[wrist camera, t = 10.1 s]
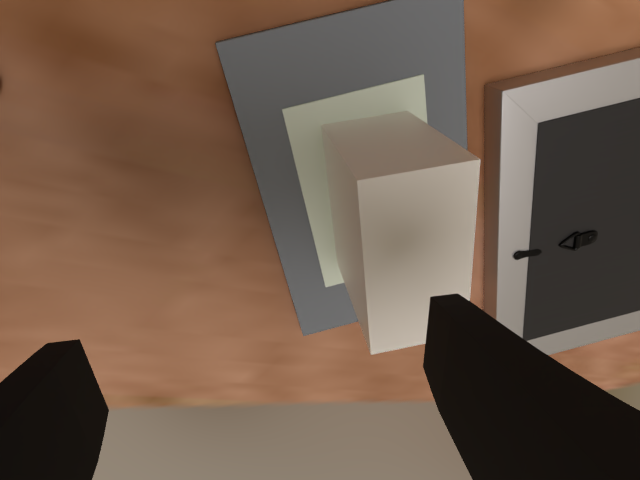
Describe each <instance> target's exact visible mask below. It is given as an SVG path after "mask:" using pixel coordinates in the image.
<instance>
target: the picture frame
mask: <svg viewBox="0 0 640 480" xmlns="http://www.w3.org/2000/svg"><path fill="white" fill-rule="evenodd" d="M484 312H486V313H487V314H489V315H490V316H491V317H493V318H494V319H496V320H497V321H498V322H500V323H501V324H503V325H504V326H506V327H507V328H508V329H510V330H511V331H513V332H514V333H516V334H517V335H518V336H520V337H521V338H523V339H524V340H526V341H527V342H529V343H530V344H532V345H533V346H535V347H536V348H538V349H539V350H540V351H542V352H544V353H545V354H547V355H550V354H554V353H558V352H561V351H565V350H569V349H573V348H576V347H580V346H584V345H587V344H591V343H595V342H599V341H602V340H606V339H610V338H613V337H617V336H621V335H625V334H628V333H632V332H636V331H640V47H638V48H634V49H630V50H626V51H621V52H617V53H613V54H609V55H605V56H601V57H597V58H592V59H588V60H584V61H580V62H576V63H572V64H568V65H563V66H559V67H555V68H551V69H547V70H543V71H539V72H534V73H530V74H526V75H522V76H518V77H514V78H510V79H505V80H501V81H497V82H493V83H489V84H485V96H484Z"/></svg>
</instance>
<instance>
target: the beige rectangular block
mask: <svg viewBox="0 0 640 480" xmlns="http://www.w3.org/2000/svg"><path fill="white" fill-rule="evenodd" d="M321 128H322V136H323V145H324V154H325V162H326V171H327V179H328V188H329V197H330V205H331V214H332V222H333V231H334V240H335V248H336V257H337V264H338V266H339V269H340V272H341V275H342V277H343V280H344V283H345V286H346V288H347V291H348V294H349V297H350V299H351V302H352V305H353V307H354V310H355V313H356V316H357V318H358V321H359V324H360V327H361V329H362V332H363V335H364V338H365V340H366V343H367V346H368V349H369V351H370V354H371V355H372V354H377V353H382V352H387V351H392V350H396V349H401V348H406V347H411V346H416V345H420V344H425V343H426V334H427V325H428V315H429V305H430V297H432V296H440V295H449V294H457V293H458V294H459V295H461V296H462V297H464V298H465V299H467V300H468V301H470V292H471V279H472V265H473V252H474V239H475V226H476V213H477V199H478V186H479V173H480V160H481V159H479V158H478V157H476V156H475V155H473V154H472V153H470V152H469V151H467V150H466V149H464V148H463V147H461V146H460V145H458V144H457V143H455V142H454V141H452V140H451V139H449V138H448V137H446V136H445V135H443V134H442V133H440V132H439V131H437V130H436V129H434V128H433V127H431V126H430V125H428V124H427V123H425V122H424V121H422V120H421V119H419V118H418V117H416V116H415V115H413V114H412V113H410V112H409V111H403V112H397V113H391V114H384V115H378V116H372V117H366V118H360V119H353V120H347V121H341V122H335V123H329V124H323V125H321Z"/></svg>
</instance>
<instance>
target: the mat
mask: <svg viewBox="0 0 640 480" xmlns="http://www.w3.org/2000/svg"><path fill="white" fill-rule="evenodd" d="M215 44H216V47H217V51H218V54H219V57H220V61H221V64H222V67H223V71H224V74H225V77H226V81H227V84H228V87H229V91H230V94H231V97H232V101H233V104H234V107H235V111H236V114H237V117H238V121H239V124H240V127H241V130H242V134H243V137H244V140H245V144H246V147H247V150H248V154H249V157H250V160H251V164H252V167H253V170H254V174H255V177H256V180H257V184H258V187H259V190H260V194H261V197H262V200H263V204H264V207H265V210H266V214H267V217H268V220H269V223H270V227H271V230H272V233H273V237H274V240H275V243H276V247H277V250H278V253H279V257H280V260H281V263H282V267H283V270H284V273H285V277H286V280H287V283H288V287H289V290H290V293H291V297H292V300H293V303H294V307H295V310H296V313H297V317H298V320H299V323H300V326H301V330H302V333H303V336H305V335H309V334H313V333H316V332H320V331H324V330H328V329H331V328H335V327H339V326H343V325H346V324H350V323H354V322H357V321H358V318H357V316H356V313H355V310H354V307H353V305H352V302H351V299H350V297H349V294H348V291H347V288H346V286H345V283H344V280H343V277H342V275H341V272H340V269H339V266H338V264H337V257H336V248H335V240H334V231H333V222H332V214H331V205H330V197H329V188H328V179H327V171H326V162H325V154H324V145H323V136H322V128H321V125H323V124H329V123H335V122H341V121H347V120H353V119H360V118H366V117H372V116H378V115H384V114H391V113H397V112H403V111H409V112H410V113H412V114H413V115H415V116H416V117H418V118H419V119H421V120H422V121H424V122H425V123H427V124H428V125H430V126H431V127H433V128H434V129H436V130H437V131H439V132H440V133H442V134H443V135H445V136H446V137H448V138H449V139H451V140H452V141H454V142H455V143H457V144H458V145H460V146H461V147H463V148H464V149H466V150H467V119H466V79H465V39H464V0H389V1H385V2H380V3H376V4H372V5H368V6H364V7H360V8H355V9H351V10H347V11H343V12H339V13H334V14H330V15H326V16H322V17H318V18H314V19H309V20H305V21H301V22H297V23H293V24H289V25H284V26H280V27H276V28H272V29H268V30H264V31H259V32H255V33H251V34H247V35H243V36H239V37H234V38H230V39H226V40H222V41H218V42H216V43H215Z"/></svg>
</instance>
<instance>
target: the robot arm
mask: <svg viewBox="0 0 640 480" xmlns="http://www.w3.org/2000/svg"><path fill="white" fill-rule="evenodd" d="M423 368H424V371H425V374H426V376H427V379H428V382H429V385H430V388H431V391H432V394H433V397H434V399H435V402H436V405H437V407H438V410H439V412H440V414H441V416H442V418H443V420H444V423H445V425H446V427H447V429H448V431H449V433H450V435H451V437H452V439H453V441H454V443H455V445H456V447H457V449H458V451H459V453H460V455H461V457H462V459H463V461H464V463H465V465H466V467H467V469H468V471H469V473H470V475H471V477H472V479H473V480H640V411H639V410H637V409H635V408H634V407H632V406H630V405H628V404H626V403H625V402H623V401H621V400H619V399H618V398H616V397H614V396H612V395H611V394H609V393H607V392H606V391H604V390H602V389H601V388H599V387H597V386H596V385H594V384H593V383H591V382H589V381H588V380H586V379H584V378H583V377H581V376H579V375H578V374H576V373H574V372H573V371H571V370H570V369H568V368H567V367H565V366H563V365H562V364H560V363H559V362H557V361H556V360H554V359H553V358H551V357H550V356H548V355H547V354H545V353H544V352H542V351H540V350H539V349H538V348H536V347H535V346H533V345H532V344H530V343H529V342H527V341H526V340H524V339H523V338H521V337H520V336H518V335H517V334H516V333H514V332H513V331H511V330H510V329H508V328H507V327H506V326H504V325H503V324H501V323H500V322H498V321H497V320H496V319H494V318H493V317H491V316H490V315H489V314H487V313H486V312H484V311H483V310H481V309H480V308H479V307H477V306H476V305H474V304H473V303H471V302H470V301H468V300H467V299H465V298H464V297H462V296H461V295H459V294H458V293H457V294H449V295H440V296H432V297H430V305H429V315H428V325H427V334H426V344H425V354H424V363H423ZM108 412H109V410H108V407H107V405H106V402H105V400H104V397H103V395H102V393H101V390H100V388H99V385H98V383H97V380H96V378H95V376H94V373H93V371H92V368H91V366H90V364H89V361H88V359H87V356H86V354H85V351H84V349H83V347H82V344H81V342H80V339H79V340H70V341H62V342H54V343H47V344H46V345H44V346H43V347H42V348H41V349H39V350H38V351H37V352H36V353H34V354H33V355H32V356H31V357H30V358H28V359H27V360H26V361H25V362H24V363H23V364H21V365H20V366H19V367H18V368H17V369H16V370H14V371H13V372H12V373H11V374H10V375H9V376H8V377H6V378H5V379H4V380H3V381H2V382H1V383H0V480H92V478H93V475H94V471H95V469H96V466H97V463H98V458H99V454H100V450H101V446H102V441H103V437H104V432H105V427H106V422H107V416H108Z"/></svg>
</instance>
